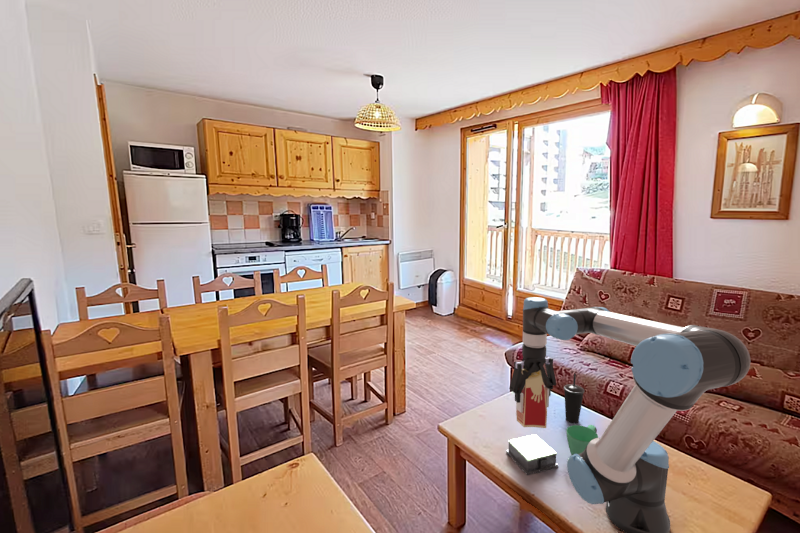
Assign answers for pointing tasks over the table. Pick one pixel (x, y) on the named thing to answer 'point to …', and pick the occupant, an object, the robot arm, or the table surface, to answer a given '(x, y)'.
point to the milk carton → (533, 402)
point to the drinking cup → (573, 401)
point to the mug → (580, 437)
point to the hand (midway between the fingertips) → (532, 408)
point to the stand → (532, 454)
